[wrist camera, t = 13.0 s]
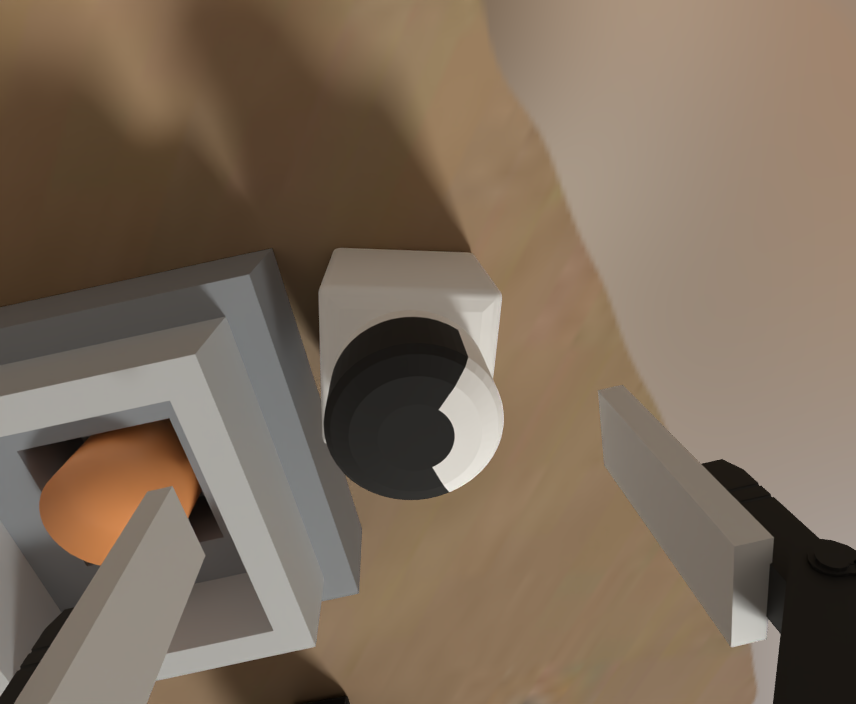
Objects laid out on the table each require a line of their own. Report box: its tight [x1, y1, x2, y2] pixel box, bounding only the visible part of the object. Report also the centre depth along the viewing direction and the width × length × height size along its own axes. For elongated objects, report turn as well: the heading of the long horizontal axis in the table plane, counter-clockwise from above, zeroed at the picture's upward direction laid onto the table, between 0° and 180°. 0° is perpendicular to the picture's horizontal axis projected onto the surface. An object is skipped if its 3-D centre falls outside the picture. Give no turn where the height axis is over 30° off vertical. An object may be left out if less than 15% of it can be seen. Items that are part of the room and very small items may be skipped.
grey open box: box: [0, 248, 362, 696], centre depth 26 cm, size 18×18×9 cm
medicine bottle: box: [318, 248, 504, 500], centre depth 23 cm, size 7×7×12 cm
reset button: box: [39, 418, 202, 566], centre depth 26 cm, size 6×6×5 cm
